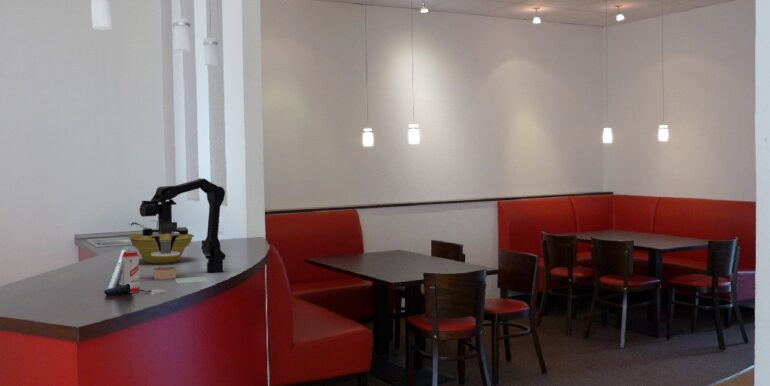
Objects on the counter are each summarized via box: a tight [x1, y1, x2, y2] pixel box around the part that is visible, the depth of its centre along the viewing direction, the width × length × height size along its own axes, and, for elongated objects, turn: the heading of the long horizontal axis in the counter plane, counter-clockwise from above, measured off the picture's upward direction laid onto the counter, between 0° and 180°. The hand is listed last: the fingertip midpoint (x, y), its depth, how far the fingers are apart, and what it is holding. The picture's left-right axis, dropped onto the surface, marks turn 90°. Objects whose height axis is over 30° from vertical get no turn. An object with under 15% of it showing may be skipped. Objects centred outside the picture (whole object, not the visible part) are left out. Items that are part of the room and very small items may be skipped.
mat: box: [174, 276, 210, 284], centre depth 309 cm, size 13×13×1 cm
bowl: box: [153, 266, 177, 280], centre depth 316 cm, size 9×9×4 cm
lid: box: [151, 241, 180, 256], centre depth 315 cm, size 12×12×6 cm
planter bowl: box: [127, 233, 195, 264], centre depth 369 cm, size 32×32×13 cm
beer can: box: [121, 250, 140, 294], centre depth 283 cm, size 6×6×16 cm
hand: (165, 251), depth 315 cm, fingers closed on lid, 4 cm apart
